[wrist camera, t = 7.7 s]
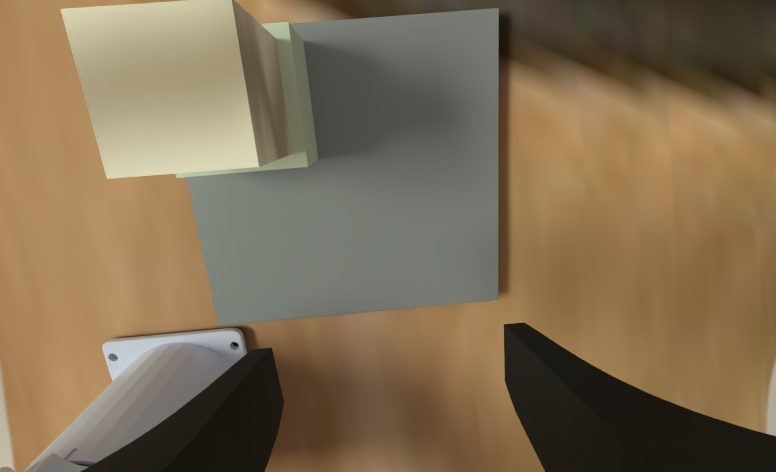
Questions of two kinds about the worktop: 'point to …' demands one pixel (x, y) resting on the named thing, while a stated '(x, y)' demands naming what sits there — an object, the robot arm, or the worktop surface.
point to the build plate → (370, 179)
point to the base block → (288, 104)
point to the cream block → (179, 86)
